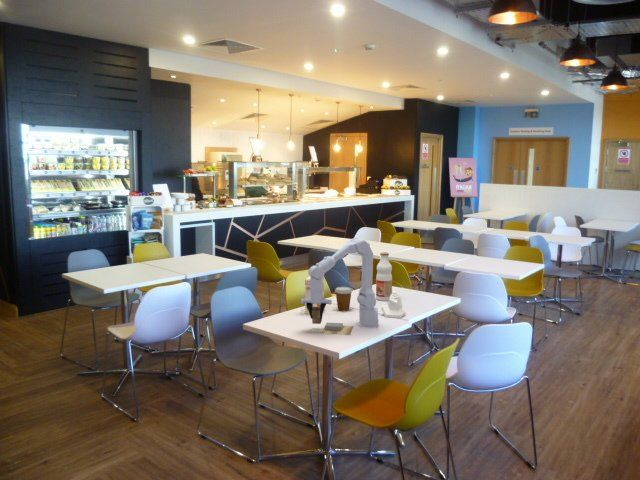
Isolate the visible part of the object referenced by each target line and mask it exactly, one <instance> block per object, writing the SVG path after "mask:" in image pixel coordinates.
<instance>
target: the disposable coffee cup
mask: <svg viewBox="0 0 640 480" xmlns="http://www.w3.org/2000/svg"><path fill="white" fill-rule="evenodd" d="M334 292H335V297H336V305H337V311H340V312H347V311H349V310H350V305H351V298H352V293H353V290H352V288H351V287H349V286H339V287H336V288H335V290H334Z"/></svg>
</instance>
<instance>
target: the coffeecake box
mask: <svg viewBox="0 0 640 480" xmlns="http://www.w3.org/2000/svg"><path fill="white" fill-rule="evenodd" d="M304 282H305V283H304V285H305V286H304V291H305V292H304V295H305V297H304V299H310V275H309V276H308V277H307V278H305V281H304ZM322 299H325V275H324V276H323V278H322ZM304 304H305V310H304V311H305V313H304V314H305V315H310V313H309V311H308V308H307V307H306V305H307V303H304ZM320 305H321V304H313V307H320Z"/></svg>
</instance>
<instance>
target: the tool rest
mask: <svg viewBox="0 0 640 480" xmlns="http://www.w3.org/2000/svg"><path fill="white" fill-rule="evenodd" d="M322 331H323V328H312V329H311V330H310V332H311V333H322Z"/></svg>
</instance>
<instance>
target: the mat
mask: <svg viewBox="0 0 640 480" xmlns="http://www.w3.org/2000/svg"><path fill="white" fill-rule="evenodd" d="M354 327H355V326H354V325H343V328H342V330H341V331H332V330H325V326H324V327H323V328H322V331H321V332H320V333H321V334H322V335H323V334H324V335H343V336H344V335H345V336H351V334H352V331H353V329H354Z"/></svg>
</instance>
